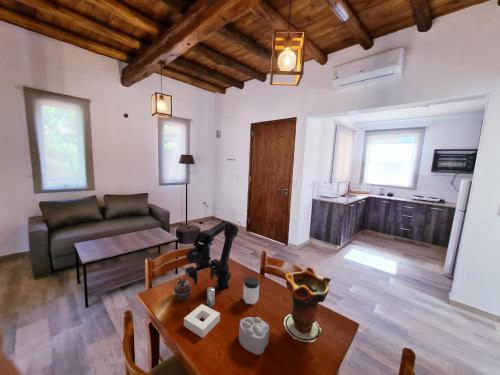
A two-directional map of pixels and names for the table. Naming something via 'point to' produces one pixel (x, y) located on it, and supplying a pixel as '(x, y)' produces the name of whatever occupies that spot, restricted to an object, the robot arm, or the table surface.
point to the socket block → (198, 326)
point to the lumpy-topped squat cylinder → (253, 334)
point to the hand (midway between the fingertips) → (203, 282)
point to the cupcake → (182, 290)
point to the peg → (210, 296)
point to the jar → (251, 290)
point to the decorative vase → (305, 303)
